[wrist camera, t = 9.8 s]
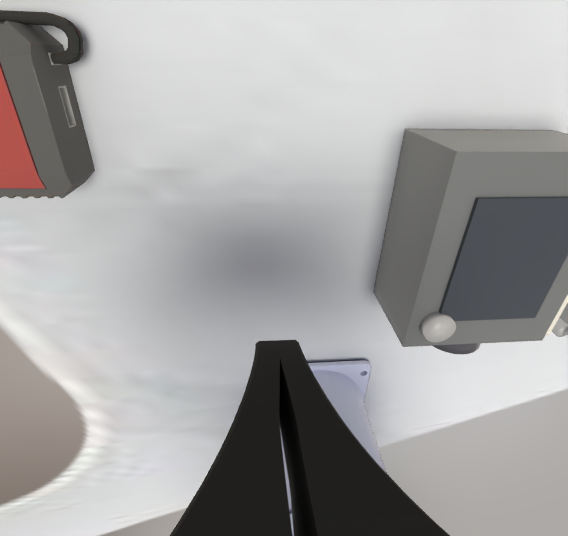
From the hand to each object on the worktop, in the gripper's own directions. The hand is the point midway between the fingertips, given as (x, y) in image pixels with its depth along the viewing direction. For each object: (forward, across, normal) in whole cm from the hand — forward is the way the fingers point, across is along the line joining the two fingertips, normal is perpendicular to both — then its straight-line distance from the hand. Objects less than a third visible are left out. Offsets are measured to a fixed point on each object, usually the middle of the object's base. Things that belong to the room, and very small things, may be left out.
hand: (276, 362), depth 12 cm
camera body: (+9, -11, -1) cm, 15 cm away
